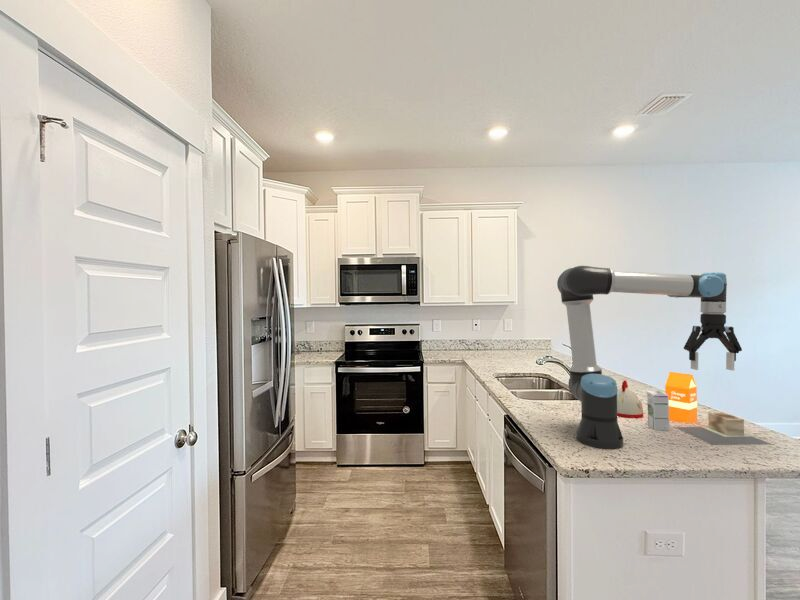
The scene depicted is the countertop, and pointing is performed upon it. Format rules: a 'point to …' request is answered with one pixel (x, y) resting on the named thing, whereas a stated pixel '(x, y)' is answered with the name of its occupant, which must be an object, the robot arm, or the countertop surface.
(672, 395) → the orange juice
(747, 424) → the countertop surface
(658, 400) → the syrup box
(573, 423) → the countertop surface
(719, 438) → the rubber mat
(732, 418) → the maple block
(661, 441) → the countertop surface
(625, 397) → the kitchen timer
